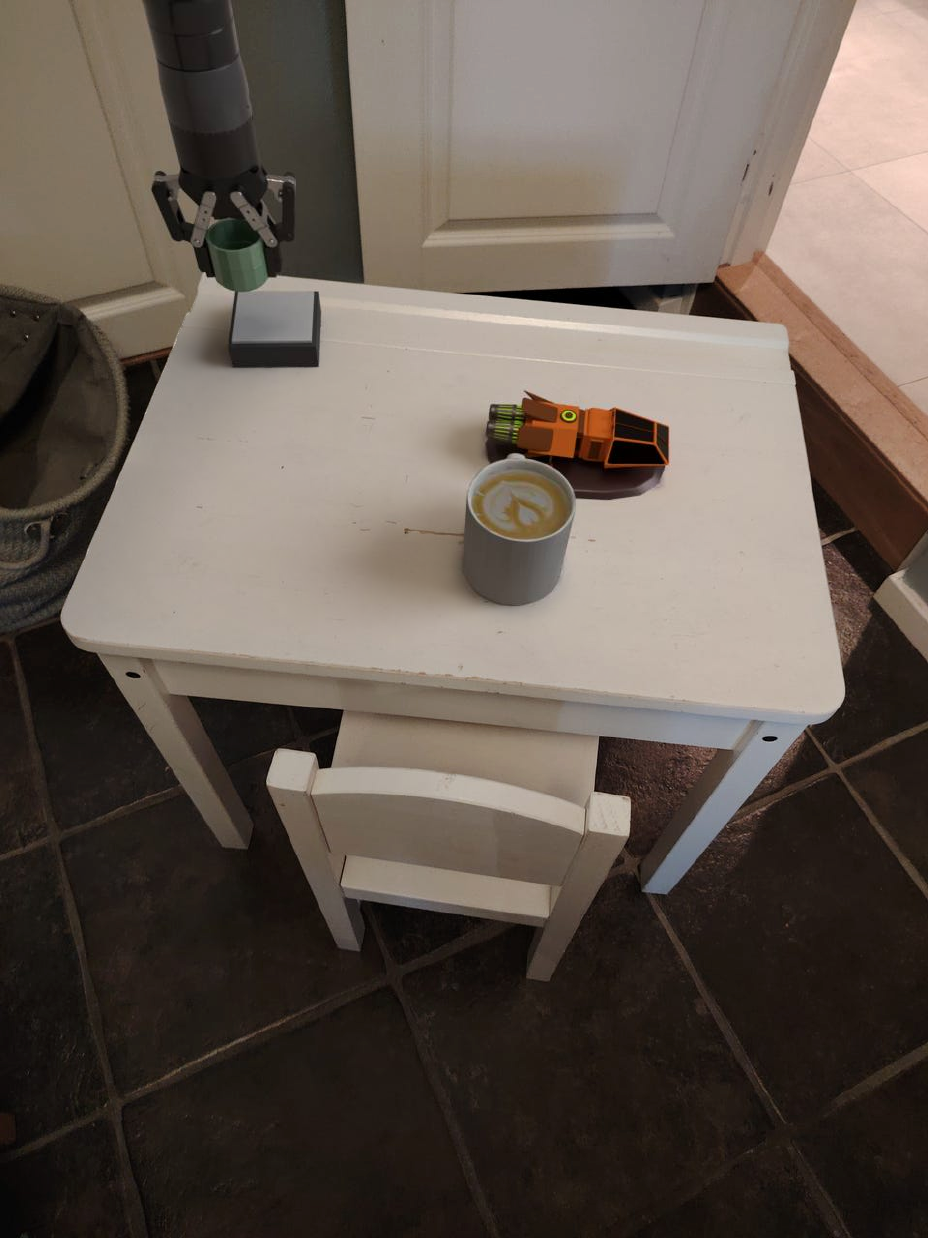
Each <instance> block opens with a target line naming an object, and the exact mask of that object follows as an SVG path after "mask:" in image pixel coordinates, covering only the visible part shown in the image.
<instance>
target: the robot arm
mask: <svg viewBox="0 0 928 1238" xmlns="http://www.w3.org/2000/svg"><path fill="white" fill-rule="evenodd" d="M141 3H142V5H143V10H144V13H145V18H146V21H147V25H148V30H149V33H150V38H151V43H152V46H153V50H154V54H155V59H156V67H157V74H158V81H159V82H158V83H159V87H160V92H161V96H162V99H163V104H164V108H165V112H166V116H167V120H168V123H169V128H170V132H171V137H172V140H173V144H174V149H175V153H176V157H177V161H178V165H179V172H178V173H176V174H168V175H167V173H165V171H163V170H157V171H156V172H154V176H153V179H152V183H151V188H150V190H151V193H152V195H153V198H154V200H155V203H156V205H157V207H158V210H159V213H160V215H161V217H162V218H163V221H164V223H165V226H166V228H167V231H168V233H169V235H170V237H171V238H172V240H173V241H174V242H177V243H179V242H182V241H184V242H188V243H189V244H191V246H192V249H193V251H194V255H195V259H196V264H197V267H198V268H197V269H199V271H200V272H201V273H205V276H206V278H208V279H209V278H213V279H215V277H214V274H213V269H212V265H211V261H210V257H209V253H208V249H207V244H206V240H205V235H206V231H207V230H208V228H209V227H210V222H211V219H212V218H213V220H214V221H220V220H224V219H228V218H233V219H237V220H247V221H248V223H249V224H250V225H251V227H252V228H253V230H254V231H257V232H258V233H259V235H260V236H261V238H262V239H263V240H264V242H265V246H264V249H265V255H266V261H267V266H268V272H269V279H270V278H271V279H273V278H275V279H277V275H278V273H282V268H283V256H282V249H281V243H282V242H287V243H290V242H293V241H294V240H295V228H296V198H297V197H296V196H297V194H296V193H297V192H296V191H297V177H296V175H295V173H294V172H292V171H286V172H284V174H283V176H282V175H276V174H269V173H268V171H267V170H266V169H265V167H264V166H263V164H262V162H261V157H260V150H259V145H258V139H257V132H256V126H255V121H254V120H255V119H254V114H253V108H252V95H251V90H250V88H249V84H248V79H247V74H246V71H245V70H246V69H245V67H244V64H243V61H242V58H241V53H240V46H239V41H238V35H237V29H236V24H235V23H236V22H235V18H234V12H233V5H232V1H231V0H141ZM179 190H181V191H182V192H184V194H185V195H187V197H188V198H189V199H191V200H192V202H194V204H195V205H196V206H198V207H197V211H196V215H195V218H194V222H193V223H192V222H188V221H186V219H185V216H184V213H183V211H182V208H181V207H180V204H179V202H178V201H179V200H178V197H179V193H180V192H179ZM267 190H270V191H272V192H273V197H274V198H275V200H276V201H277V202H279V203H282V204H281V221H280V222H276V221H275V219H274V218H273V217H272V216H271V214H270V212H269V209H268V206H267V205H266V203H265V202H264V200H263V197H264V195H265V194H266V193H267Z"/></svg>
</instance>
